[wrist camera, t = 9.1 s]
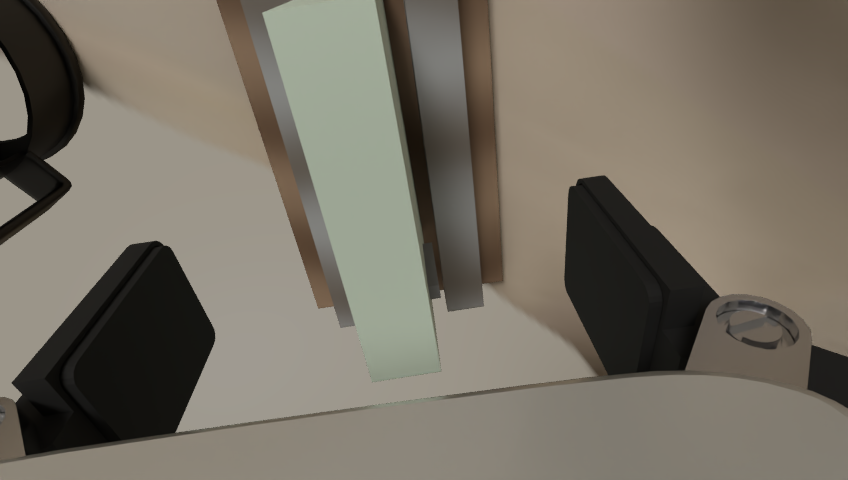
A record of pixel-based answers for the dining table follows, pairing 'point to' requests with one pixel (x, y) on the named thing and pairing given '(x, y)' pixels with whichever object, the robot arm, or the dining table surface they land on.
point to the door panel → (361, 174)
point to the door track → (425, 131)
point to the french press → (39, 105)
